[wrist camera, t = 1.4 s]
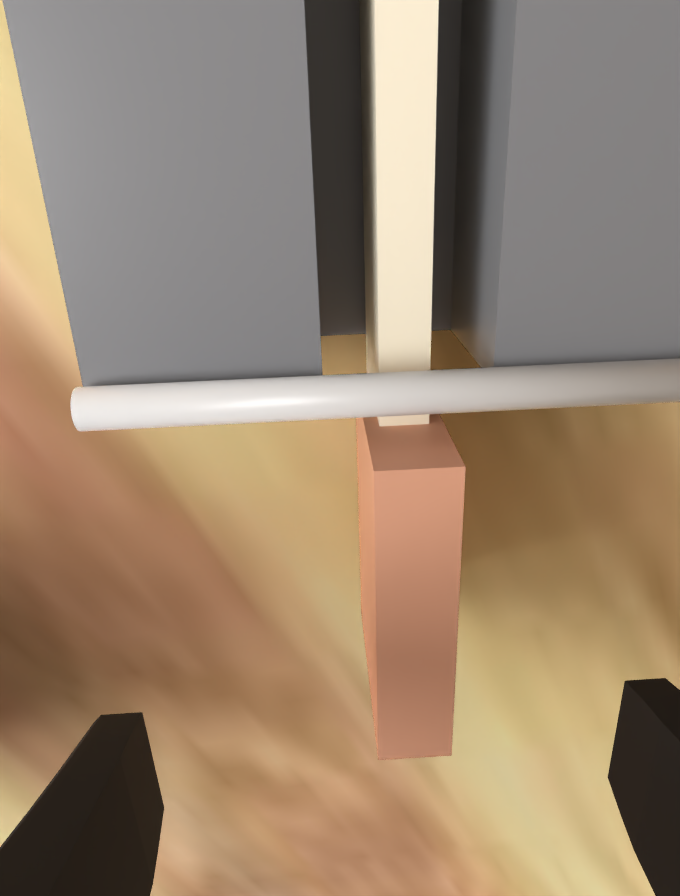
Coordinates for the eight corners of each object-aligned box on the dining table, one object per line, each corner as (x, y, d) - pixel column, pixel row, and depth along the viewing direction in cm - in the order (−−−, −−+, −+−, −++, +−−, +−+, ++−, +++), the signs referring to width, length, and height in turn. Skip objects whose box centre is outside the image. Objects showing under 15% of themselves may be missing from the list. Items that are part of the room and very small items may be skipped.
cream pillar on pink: (415, 605, 19) (451, 755, 14) (360, 608, 19) (378, 759, 14) (430, -385, 11) (528, -814, 6) (333, -383, 11) (353, -812, 6)
